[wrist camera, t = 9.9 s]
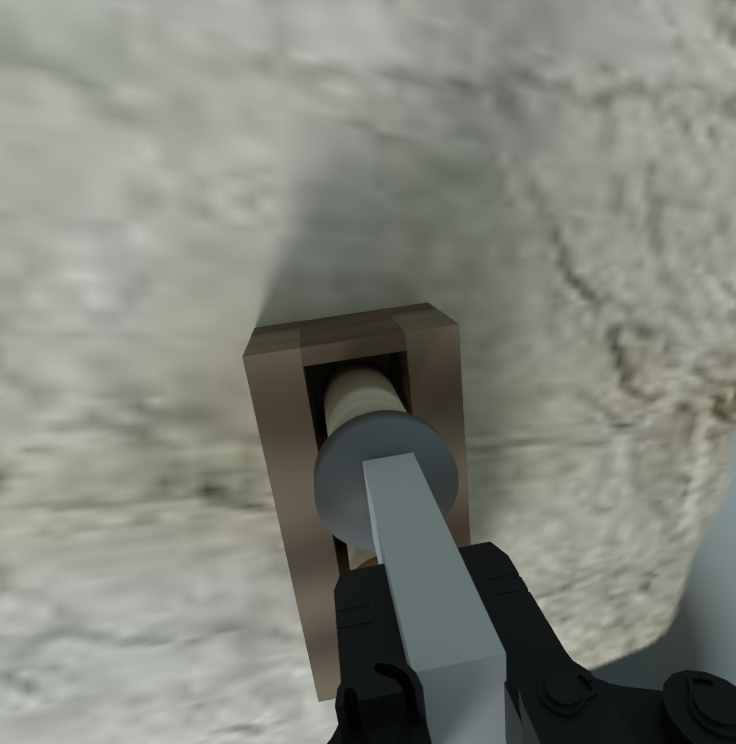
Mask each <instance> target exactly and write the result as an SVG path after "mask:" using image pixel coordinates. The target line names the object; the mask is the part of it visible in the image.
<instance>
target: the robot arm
mask: <svg viewBox="0 0 736 744" xmlns="http://www.w3.org/2000/svg"><path fill="white" fill-rule="evenodd" d="M362 462H363V469H364V477H365V484H366V491H367V498H368V505H369V512H370V519H371V527H372V534H373V540H374V545H375V549H376V554H377V559H378V563H379V565H373V566H368V567H363V568H358V569H353V570H348V571H342V572H341V574H340V576H339V579H338V581H337V584H336V586H335V589H334V601H335V613H336V627H337V639H338V652H339V665H340V678H341V683H340V685H339V687H338V688H337V694H336V702H335V709H336V714H337V719H338V727H337V729H336V730H335V732H334V734H333V736H332V738H331V739H330V741H329V742H328V743H327V744H736V686H734V685H733V684H731V683H730V682H728V681H726V680H725V679H722V678H720V677H717V676H714V675H712V674H709V673H707V672H701V671H692V670H685V671H681V672H677V673H674V674H672V675H671V676H670V677H669V678H668V679H667V680H666V682H665V683H664V686H663V691H659V690H650V689H642V688H632V687H624V686H619V685H614V684H610V683H607V682H605V681H602V680H600V679H598V678H595V677H594V676H593V675H592V674H591V672H590V671H588V670H587V669H585V668H584V667H582V666H580V665H579V664H577V663H576V662H574V661H573V660H572V659H571V658H570V656H569V655H568V654H567V652H566V651H565V650H564V648H563V646H562V645H561V643H560V641H559V640H558V638H557V636H556V635H555V633H554V631H553V630H552V628H551V626H550V625H549V623H548V621H547V620H546V618H545V616H544V615H543V613H542V611H541V610H540V608H539V606H538V605H537V603H536V601H535V600H534V598H533V596H532V595H531V593H530V592H528V588H527V586H526V585H525V583H524V581H523V580H522V578H521V577H519V573H518V571H517V570H516V568H515V566H514V565H513V563H512V561H511V560H510V558H509V556H508V555H507V554H506V553H504V552H503V551H502V550H500V549H499V548H498V547H496V546H495V545H494V544H493V543H491V542H485V543H480V544H475V545H470V546H465V547H459V548H457V546H456V544H455V542H454V540H453V538H452V535H451V533H450V531H449V529H448V527H447V525H446V522H445V520H444V518H443V516H442V514H441V512H440V509H439V507H438V505H437V503H436V501H435V499H434V496H433V494H432V492H431V490H430V488H429V486H428V483H427V481H426V479H425V477H424V475H423V473H422V470H421V468H420V466H419V464H418V462H417V460H416V458H415V455H414V453H413V452H412V453H407V454H401V455H395V456H389V457H383V458H378V459H372V460H366V461H362Z"/></svg>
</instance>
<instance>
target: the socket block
mask: <svg viewBox="0 0 736 744" xmlns="http://www.w3.org/2000/svg"><path fill="white" fill-rule="evenodd" d="M387 353H390V362H391V371H392V381H393V387H394V389H395V391H396V393H397V395H398V397H399V399H400V401H401V403H402V404H403V406H404V408H405V410H406V412H407V413H410V414H412V415H415V416H417V417H419V418H421V419H423V420H424V421H426V422H427V423H428V424H430V425H431V426H432V427H433V428H434V429H435V430H436V431H437V432H438V434H439V435H440V437H441V438H442V440H443V441H444V443H445V444H446V446H447V448H448V449H449V451H450V452H451V454H452V456H453V458H454V460H455V463H456V466H457V469H458V477H459V486H458V492H457V496H456V500H455V503H454V505H453V507H452V509H451V511H450V513H449V514H448V516H447V517H446V519H445V522H446V525H447V527H448V529H449V531H450V533H451V535H452V538H453V540H454V542H455V544H456V546H457V548H459V547H465V546H470V529H469V510H468V491H467V472H466V454H465V435H464V416H463V398H462V379H461V360H460V341H459V324H458V323H456V322H455V321H453V320H452V319H451V318H449V317H448V316H446V315H445V314H443V313H442V312H441V311H439V310H438V309H436V308H435V307H433V306H432V305H430V304H429V303H423V304H416V305H410V306H403V307H396V308H389V309H382V310H375V311H369V312H362V313H355V314H348V315H341V316H334V317H327V318H321V319H314V320H307V321H300V322H293V323H286V324H280V325H273V326H266V327H259V328H254V331H253V333H252V335H251V338H250V340H249V343H248V345H247V347H246V350H245V352H244V354H243V361H244V365H245V370H246V375H247V379H248V384H249V388H250V393H251V397H252V402H253V406H254V411H255V415H256V420H257V424H258V429H259V433H260V438H261V443H262V447H263V452H264V456H265V461H266V465H267V470H268V474H269V479H270V483H271V488H272V492H273V497H274V501H275V506H276V511H277V515H278V520H279V524H280V529H281V533H282V538H283V542H284V547H285V551H286V556H287V560H288V565H289V569H290V574H291V578H292V583H293V588H294V592H295V597H296V601H297V606H298V610H299V615H300V619H301V624H302V628H303V633H304V637H305V642H306V646H307V651H308V656H309V660H310V665H311V669H312V674H313V678H314V683H315V687H316V692H317V696H318V701H319V702H321V701H325V700H330V699H334V698H336V694H337V688H338V687H339V685H340V683H341V678H340V665H339V652H338V639H337V627H336V613H335V601H334V589H335V586H336V584H337V581H338V579H339V576H340V574H341V572H342V571H348V570H350V565H349V557H348V550H347V543H345V542H343V541H341V540H340V539H338V538H337V537H335V536H334V535H333V534H332V533H331V532H330V531H329V530H328V529H327V528H326V526H325V525H324V524H323V522H322V520H321V519H320V516H319V514H318V512H317V508H316V505H315V497H314V466H315V461H316V458H317V455H318V453H319V451H320V449H321V447H322V445H323V444H324V442H325V441H326V439H327V438H328V433H327V425H326V416H325V413H318V414H316V412H315V406H314V400H313V394H312V388H311V382H310V377H309V371H308V366H309V365H316V364H322V363H329V362H335V361H342V360H348V359H355V358H361V357H368V356H374V355H380V354H387Z"/></svg>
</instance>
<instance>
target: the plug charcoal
mask: <svg viewBox="0 0 736 744" xmlns="http://www.w3.org/2000/svg"><path fill="white" fill-rule="evenodd" d="M323 399H324V407H325V416H326V425H327V433H328V438H327V439H326V441H325V442H324V444H323V445H322V447H321V449H320V451H319V453H318V455H317V458H316V461H315V466H314V497H315V505H316V508H317V512H318V514H319V516H320V519H321V520H322V522H323V524H324V525H325V526H326V528H327V529H328V530H329V531H330V532H331V533H332V534H333V535H334V536H335V537H337V538H338V539H340V540H341V541H343V542H345V543H347V544H349V545H351V546H354V547H357V548H360V549H365V550H372V551H376V549H375V545H374V540H373V534H372V527H371V519H370V512H369V505H368V498H367V491H366V484H365V477H364V469H363V462H362V461H366V460H372V459H378V458H383V457H389V456H395V455H401V454H407V453H412V452H413V453H414V455H415V458H416V460H417V462H418V464H419V466H420V468H421V470H422V473H423V475H424V477H425V479H426V481H427V483H428V486H429V488H430V490H431V492H432V494H433V496H434V499H435V501H436V503H437V505H438V507H439V509H440V512H441V514H442V516H443V518H444V520H445V519H446V517H447V516H448V514H449V513H450V511H451V509H452V507H453V505H454V503H455V500H456V496H457V492H458V486H459V477H458V469H457V466H456V463H455V460H454V458H453V456H452V454H451V452H450V451H449V449H448V448H447V446H446V444H445V443H444V441H443V440H442V438H441V437H440V435H439V434H438V432H437V431H436V430H435V429H434V428H433V427H432V426H431V425H430V424H428V423H427V422H426V421H424V420H423V419H421V418H419V417H417V416H415V415H412V414H410V413H407V412H406V410H405V408H404V406H403V404H402V403H401V401H400V399H399V397H398V395H397V393H396V391H395V389H394V387H393V386H392V384H391V382H390V380H389V378H388V376H387V375H386V373H385V372H384V371H383V370H382V369H381V368H380V367H378V366H376V365H375V364H372V363H370V362H366V361H352V362H348V363H345V364H343V365H341V366H339V367H338V368H336V369H335V370H334V371H333V372H332V373H331V374H330V376H329V377H328V379H327V381H326V383H325V386H324V390H323Z"/></svg>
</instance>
